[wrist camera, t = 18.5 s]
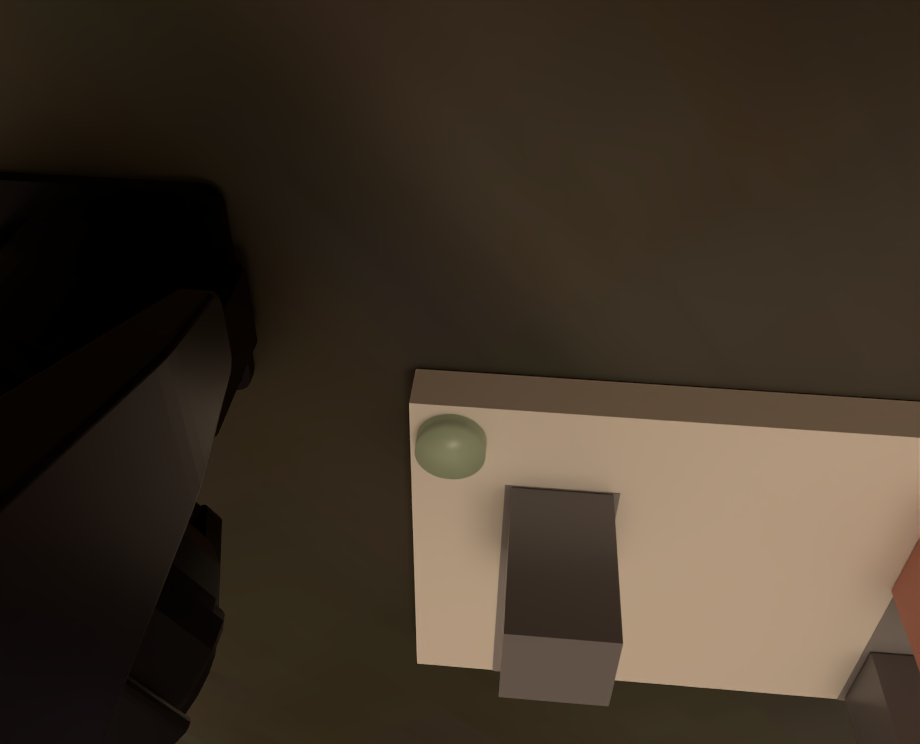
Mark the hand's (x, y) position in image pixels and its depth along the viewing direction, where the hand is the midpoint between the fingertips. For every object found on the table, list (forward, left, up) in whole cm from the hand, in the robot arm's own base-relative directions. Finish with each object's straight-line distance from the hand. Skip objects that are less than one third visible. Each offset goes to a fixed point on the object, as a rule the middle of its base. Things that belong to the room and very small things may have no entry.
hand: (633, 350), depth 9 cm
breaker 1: (+1, -15, -10) cm, 18 cm away
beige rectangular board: (+7, -17, -12) cm, 22 cm away
